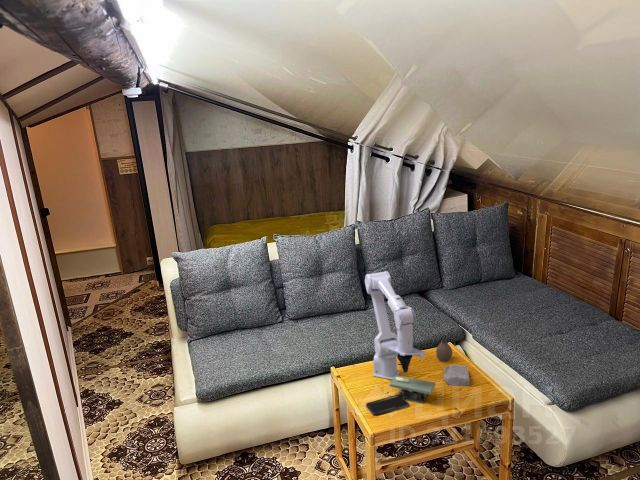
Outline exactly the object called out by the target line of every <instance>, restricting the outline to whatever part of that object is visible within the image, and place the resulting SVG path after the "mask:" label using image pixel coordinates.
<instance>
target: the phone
mask: <svg viewBox="0 0 640 480" xmlns="http://www.w3.org/2000/svg"><path fill="white" fill-rule="evenodd" d="M398 395H399V394H395V395H391V396H387V397H384V398H380V399H376V400H373V401H370V402H369V401H368V402H366V404H365V407H366V408H367V410H368V411H369V412H370V414H371V415H372V416H373V417H378V416H381V415H385V414H389V413H391V412H395V411H398V410H402V409H405V408H408V407H409V406H410V404H409V401H408V400H405V399H404V398H400V397H397V396H398Z"/></svg>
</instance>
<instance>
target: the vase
mask: <svg viewBox="0 0 640 480" xmlns="http://www.w3.org/2000/svg"><path fill="white" fill-rule="evenodd" d="M435 352H436V357H437V359H438V360H439V361H440V362H442V363H448V362H449V361H451V360H452V357H453V349H452V347H451V346H450V344H449V343H448V341H446V340H442V341H440V343H439V344H438V345H437V347H436V350H435Z"/></svg>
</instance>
